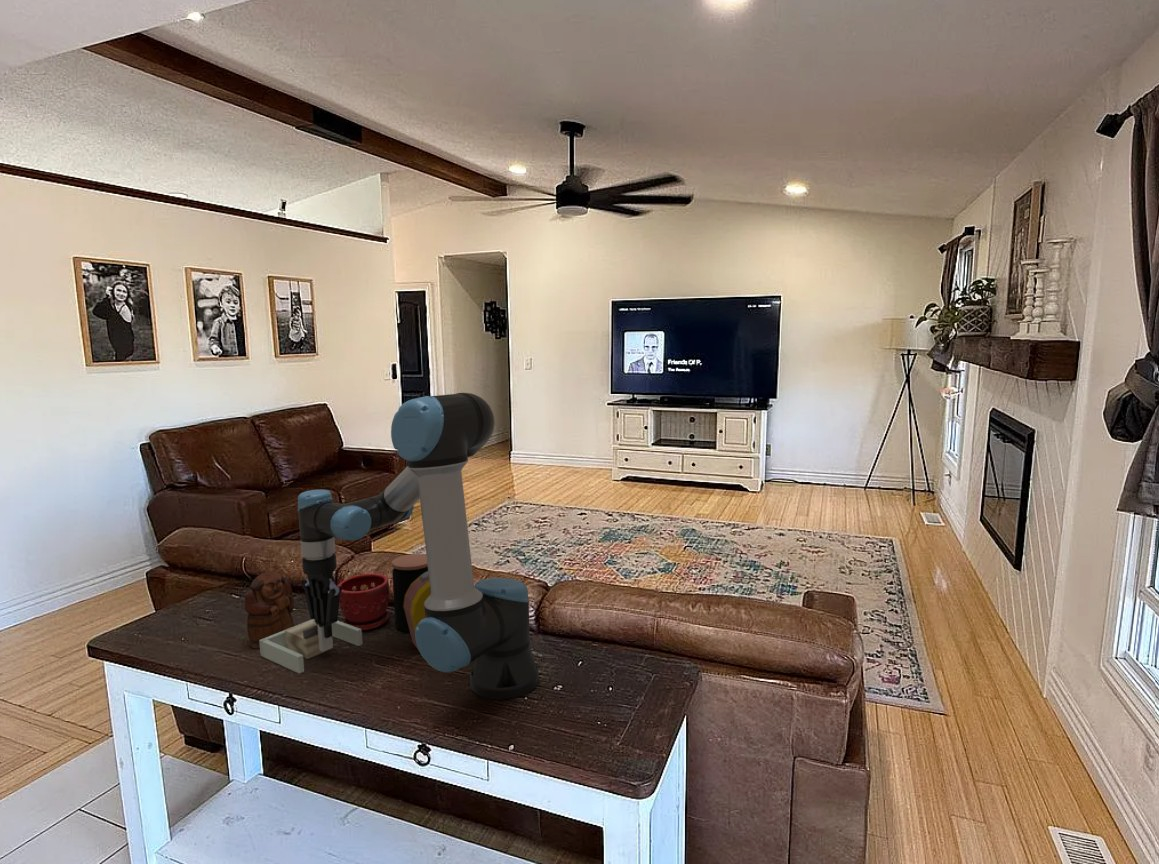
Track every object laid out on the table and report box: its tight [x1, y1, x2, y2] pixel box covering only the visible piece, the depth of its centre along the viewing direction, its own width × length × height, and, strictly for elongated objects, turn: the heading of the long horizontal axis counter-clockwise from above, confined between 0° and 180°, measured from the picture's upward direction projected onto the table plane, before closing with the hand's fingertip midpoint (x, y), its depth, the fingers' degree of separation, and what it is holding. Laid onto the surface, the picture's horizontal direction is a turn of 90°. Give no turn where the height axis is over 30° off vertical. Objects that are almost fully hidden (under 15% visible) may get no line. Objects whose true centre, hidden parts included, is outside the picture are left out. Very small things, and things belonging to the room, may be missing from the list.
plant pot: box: [336, 573, 390, 631], centre depth 177 cm, size 13×13×12 cm
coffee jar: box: [391, 553, 428, 633], centre depth 175 cm, size 11×11×18 cm
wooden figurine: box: [244, 571, 295, 649], centre depth 168 cm, size 12×6×18 cm, turn 159°
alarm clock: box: [403, 571, 431, 649], centre depth 165 cm, size 15×8×18 cm, turn 123°
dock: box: [259, 619, 363, 675], centre depth 163 cm, size 16×17×4 cm
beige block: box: [285, 619, 334, 660], centre depth 163 cm, size 9×7×7 cm
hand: (326, 648), depth 160 cm, fingers closed
